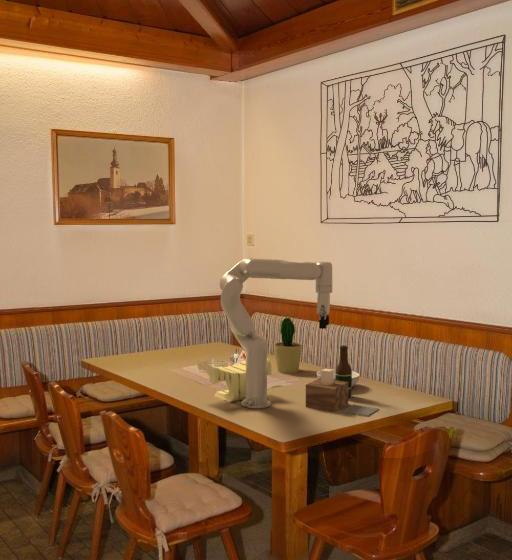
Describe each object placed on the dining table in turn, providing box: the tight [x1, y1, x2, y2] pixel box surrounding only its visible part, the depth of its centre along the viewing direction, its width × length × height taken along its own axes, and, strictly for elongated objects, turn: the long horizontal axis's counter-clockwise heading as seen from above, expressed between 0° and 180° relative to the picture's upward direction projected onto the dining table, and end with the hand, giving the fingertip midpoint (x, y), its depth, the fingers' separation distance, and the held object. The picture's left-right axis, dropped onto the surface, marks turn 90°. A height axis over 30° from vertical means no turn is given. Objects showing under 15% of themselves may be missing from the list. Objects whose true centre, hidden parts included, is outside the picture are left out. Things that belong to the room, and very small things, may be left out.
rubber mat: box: [341, 404, 380, 417], centre depth 283 cm, size 12×12×1 cm
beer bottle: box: [335, 344, 353, 399], centre depth 305 cm, size 8×8×24 cm
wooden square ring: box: [305, 378, 349, 412], centre depth 291 cm, size 14×14×10 cm
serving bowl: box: [316, 368, 360, 387], centre depth 324 cm, size 21×21×7 cm
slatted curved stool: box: [197, 357, 272, 403], centre depth 304 cm, size 30×16×18 cm, turn 122°
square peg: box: [320, 368, 333, 385], centre depth 291 cm, size 4×4×12 cm
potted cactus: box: [273, 317, 303, 374], centre depth 357 cm, size 15×15×30 cm
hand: (324, 326), depth 298 cm, fingers open, 9 cm apart
